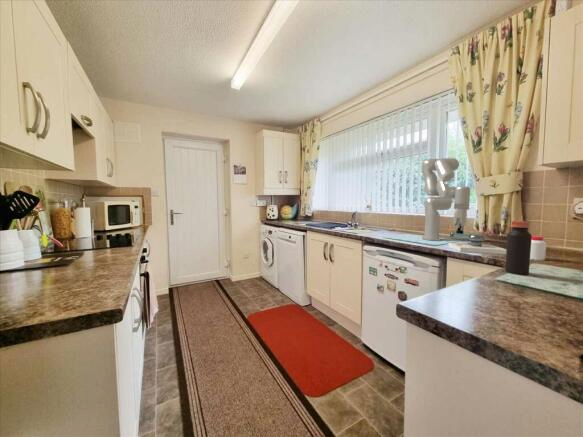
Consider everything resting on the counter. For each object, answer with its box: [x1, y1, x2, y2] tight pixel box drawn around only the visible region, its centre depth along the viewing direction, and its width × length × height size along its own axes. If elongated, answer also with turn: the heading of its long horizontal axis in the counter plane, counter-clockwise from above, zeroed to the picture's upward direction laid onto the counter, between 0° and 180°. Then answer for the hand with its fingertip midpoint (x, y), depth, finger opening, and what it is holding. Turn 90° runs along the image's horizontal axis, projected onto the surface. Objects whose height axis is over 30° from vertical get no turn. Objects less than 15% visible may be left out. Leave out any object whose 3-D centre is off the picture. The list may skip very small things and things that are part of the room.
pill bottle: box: [530, 235, 547, 261], centre depth 118 cm, size 8×8×11 cm
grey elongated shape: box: [449, 231, 486, 246], centre depth 142 cm, size 17×8×6 cm, turn 40°
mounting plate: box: [448, 242, 507, 255], centre depth 139 cm, size 17×22×3 cm
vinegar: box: [504, 220, 533, 276], centre depth 93 cm, size 7×7×20 cm
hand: (459, 236), depth 147 cm, fingers closed
